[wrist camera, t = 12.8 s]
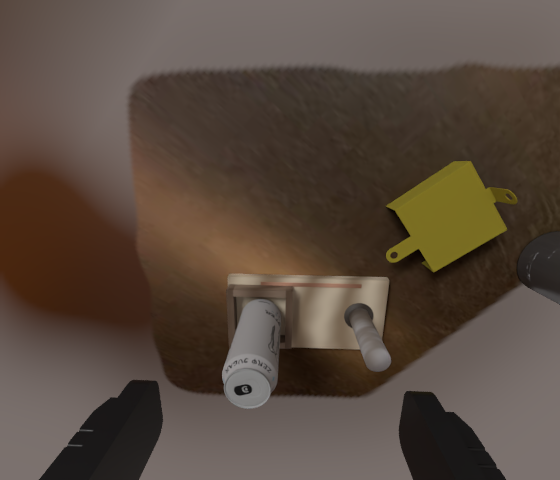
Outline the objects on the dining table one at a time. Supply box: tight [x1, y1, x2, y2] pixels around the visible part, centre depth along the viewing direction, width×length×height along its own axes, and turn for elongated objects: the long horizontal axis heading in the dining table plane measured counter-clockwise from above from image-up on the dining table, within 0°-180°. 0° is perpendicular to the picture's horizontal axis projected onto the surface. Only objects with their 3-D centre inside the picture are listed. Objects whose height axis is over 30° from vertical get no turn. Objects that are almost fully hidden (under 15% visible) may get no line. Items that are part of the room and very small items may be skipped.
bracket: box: [386, 161, 517, 272], centre depth 36 cm, size 16×8×15 cm
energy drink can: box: [222, 299, 281, 409], centre depth 35 cm, size 6×6×15 cm
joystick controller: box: [226, 274, 391, 372], centre depth 38 cm, size 24×12×11 cm, turn 90°
